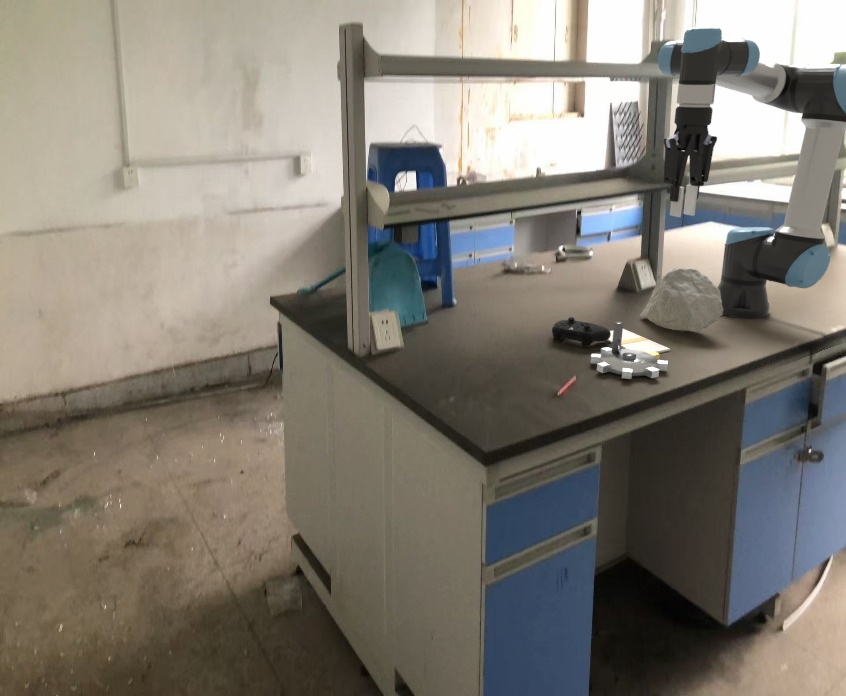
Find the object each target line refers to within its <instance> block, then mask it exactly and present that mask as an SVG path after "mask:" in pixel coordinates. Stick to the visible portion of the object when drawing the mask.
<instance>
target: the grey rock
mask: <svg viewBox="0 0 846 696" xmlns="http://www.w3.org/2000/svg"><path fill="white" fill-rule="evenodd" d="M722 314H723V307H722V301H721V295H720V290H719V289H718V286H716V285H715V284H714V283H713V281H711V279H709V277H708V276H706V275H704V274H702V273H701V271H700V270H698V269H695V268H694V269H693V268H688V269H687V268H681V267H677V266H675V267H672V269H670V270H668V271H667V272H666V273H665V275H664V274H663V276H662V278H661V279H660V280H659V281H658V283H657V284H656V286H655V287H654V289H653V290H652V293H651V296H650V299H649V301H648V303H647V305H646V306H645V307H644V310H643V311H642V312H641V313H640V316H639V317H641V318H643V319H648V320H649V321H650V322H651V323H654V324H655V325H656V326H658V327H661V328H663V329H668V330H673V331H679V332H693V333H700V332H702V331H703V330H704V329H707V328H709V326H711V325H712V324H714V323H716V321H717V319H718V318H720V317H722V316H723V315H722Z"/></svg>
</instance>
